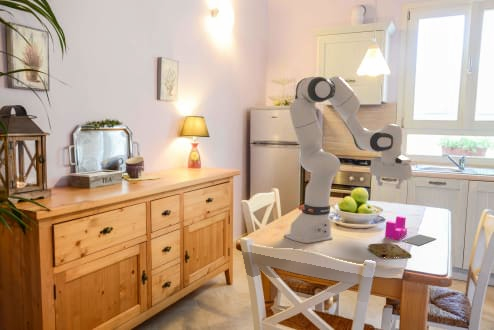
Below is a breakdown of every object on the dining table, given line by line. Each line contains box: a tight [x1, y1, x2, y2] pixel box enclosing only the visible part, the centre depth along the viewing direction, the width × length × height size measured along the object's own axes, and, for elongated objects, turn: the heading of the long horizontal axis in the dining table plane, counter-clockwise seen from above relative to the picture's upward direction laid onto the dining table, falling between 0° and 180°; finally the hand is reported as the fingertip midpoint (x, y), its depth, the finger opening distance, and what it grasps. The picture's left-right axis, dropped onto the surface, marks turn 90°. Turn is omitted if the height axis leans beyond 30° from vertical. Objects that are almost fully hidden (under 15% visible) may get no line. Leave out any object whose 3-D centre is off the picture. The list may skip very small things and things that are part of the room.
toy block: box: [384, 215, 408, 241], centre depth 187 cm, size 15×6×8 cm, turn 140°
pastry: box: [367, 242, 412, 259], centre depth 163 cm, size 17×17×3 cm
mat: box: [401, 234, 437, 247], centre depth 180 cm, size 16×8×1 cm, turn 130°
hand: (388, 187), depth 190 cm, fingers open, 8 cm apart
